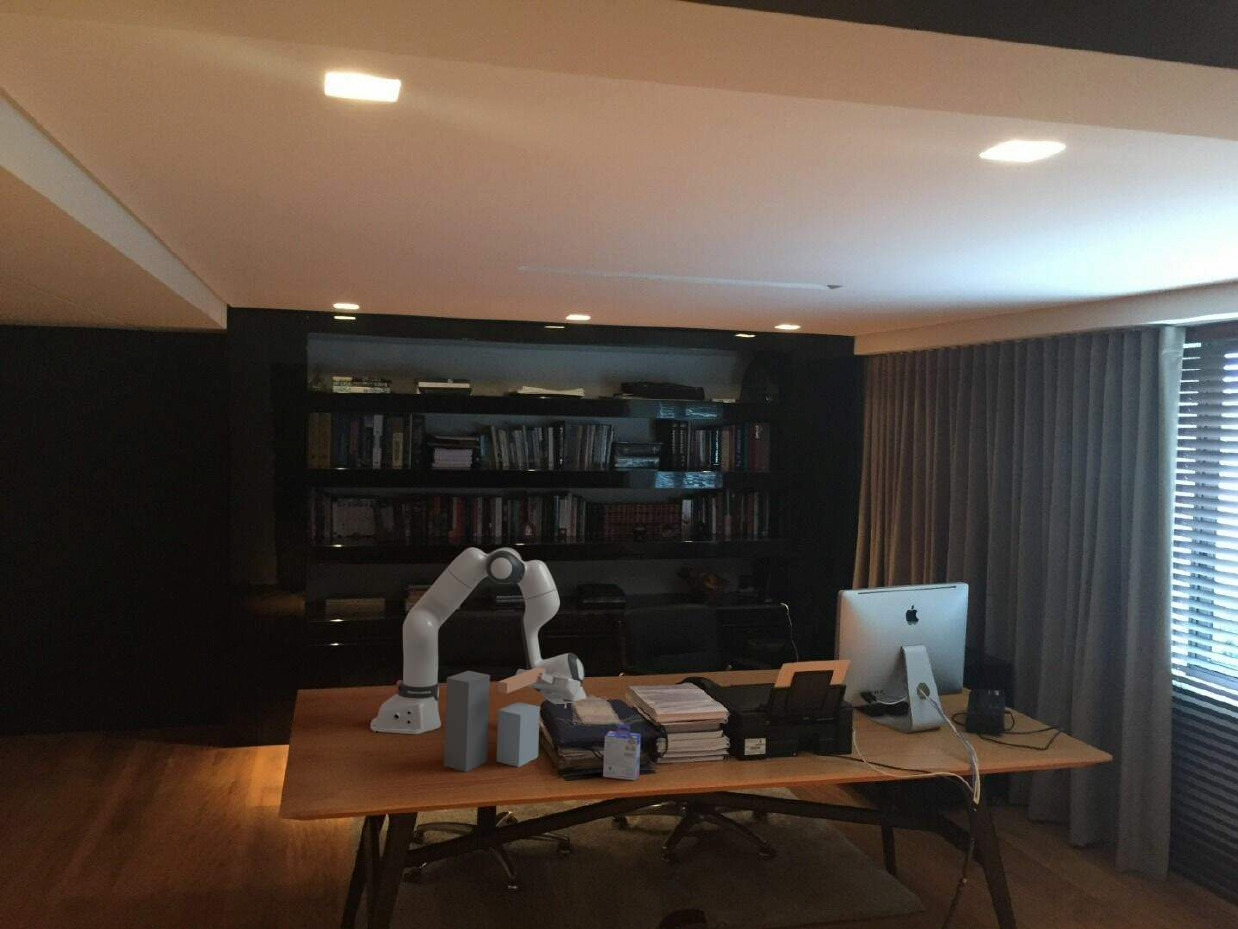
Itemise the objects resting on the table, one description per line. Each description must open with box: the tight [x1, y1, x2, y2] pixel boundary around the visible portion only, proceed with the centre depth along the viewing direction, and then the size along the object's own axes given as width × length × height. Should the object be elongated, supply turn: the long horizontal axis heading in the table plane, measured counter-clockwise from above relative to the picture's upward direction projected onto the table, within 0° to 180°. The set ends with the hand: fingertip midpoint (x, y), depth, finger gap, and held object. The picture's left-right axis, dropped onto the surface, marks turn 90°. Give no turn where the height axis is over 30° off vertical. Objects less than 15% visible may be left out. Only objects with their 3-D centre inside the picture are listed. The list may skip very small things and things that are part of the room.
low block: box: [496, 701, 541, 768], centre depth 295 cm, size 10×8×16 cm
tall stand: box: [443, 670, 491, 773], centre depth 289 cm, size 10×8×26 cm
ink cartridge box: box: [602, 724, 642, 781], centre depth 285 cm, size 10×6×14 cm, turn 78°
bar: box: [498, 667, 545, 694], centre depth 295 cm, size 20×3×3 cm, turn 151°
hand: (534, 674), depth 301 cm, fingers closed on bar, 3 cm apart
